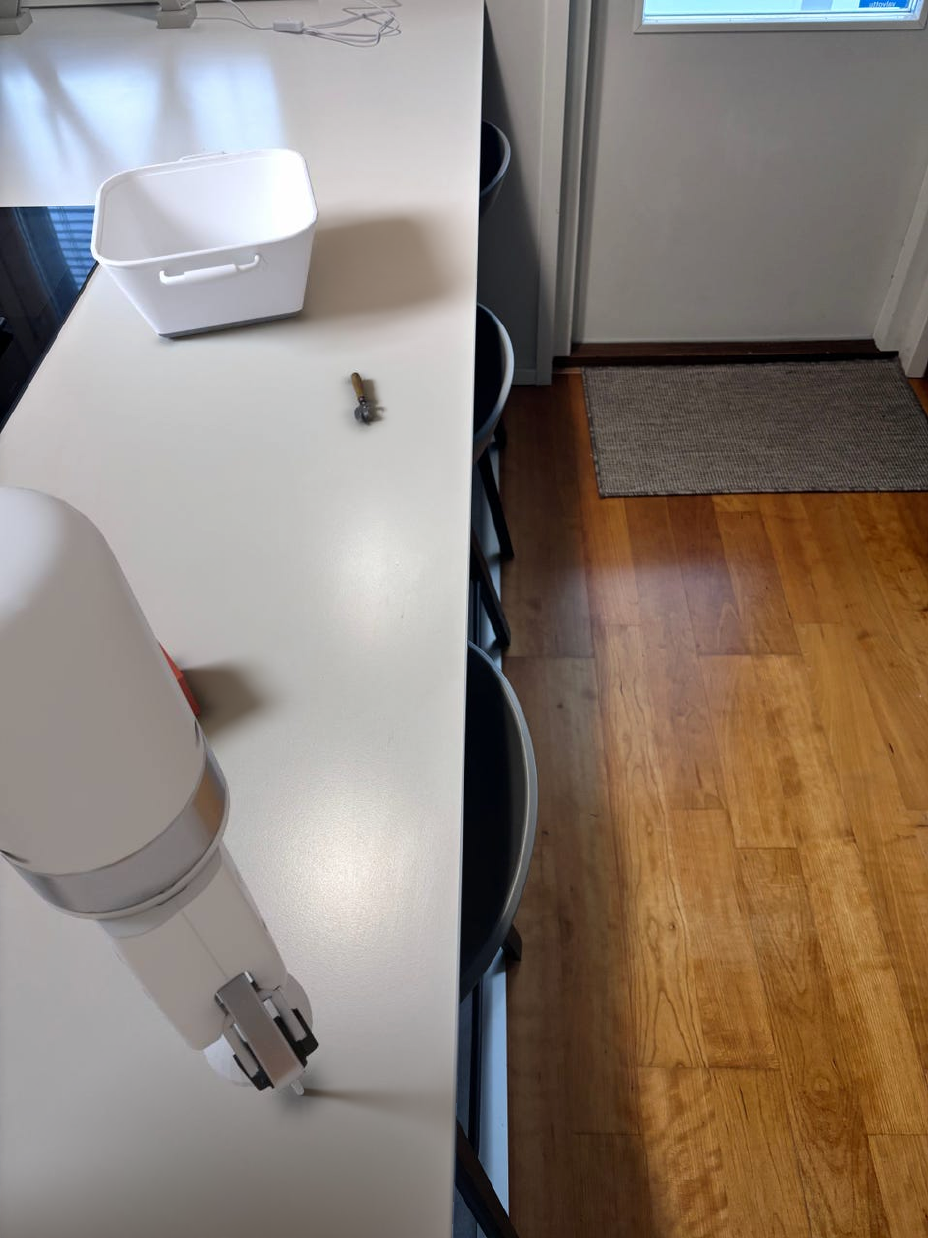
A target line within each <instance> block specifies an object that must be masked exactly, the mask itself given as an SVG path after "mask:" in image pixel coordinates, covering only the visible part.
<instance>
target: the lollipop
mask: <svg viewBox="0 0 928 1238" xmlns="http://www.w3.org/2000/svg"><path fill="white" fill-rule="evenodd" d="M244 973H245V975H246V976H247V978H248V980H249V981H250V982H252V981H253V980H252V978H251V977H250V975H249V974H248V972H244ZM278 989H279V991H280V992H281V994H282V996H283V997H284V999H285V1000H286V1002H287V1004H288V1005H289V1007H290V1008H291V1009H296V1008H297V1009H298V1010H299V1012H300V1013H301V1015H302V1016H303V1018H304V1020H305V1021H306V1023H307V1025H308V1027H309V1028H310V1030H311V1032H312V1033H313V1025H314V1019H313V1011H312V1010H313V1009H312V1006H311V1003H310V1002H311V1001H310V999H309V996H308V994H307V992H306V991H305V988H304V987H303V986H302V985H301V984H300V982H299V981H298V980H297V979H296V978H295V977H294V975H292V974H290V973H289V972H288V974H287V982H286V985H285V988H284V990H283V991H282V990H281V988H280V987H279V988H278ZM217 995H218V994H217ZM219 998H220V997H219ZM220 1000H221V999H220ZM221 1002H222V1001H221ZM222 1003H223V1002H222ZM263 1004H264V1005H265V1007H266V1009H267V1010H268V1012H269V1013H270V1015H271V1017H272V1018H273V1019H274V1018H275V1017H276V1016H278V1015H279V1013H278V1012H277V1010H276V1009H275V1007H274V1006H273V1004H272V1002H271V1001H270V999H267V1000H266V1001H265V1002H263ZM279 1017H280V1015H279ZM234 1025H235V1026H236V1028H237V1029H238V1031H239V1032H240V1030H239V1028H238V1027H237V1025H236V1023H235V1024H234ZM240 1034H241V1036H242V1037H243V1039H244V1040H245V1038H244V1036H243V1035H242V1033H241V1032H240ZM245 1042H246V1040H245ZM202 1052H203V1053H204V1056H205V1058H206V1060H207V1062H208V1065H209V1066H210V1067H211V1069H212V1070H213V1071H214V1073H215V1074H217V1075H218V1076H219V1077H220V1078H221V1079H222V1080H224V1081H226V1082H228V1083H230V1084H232V1085H235V1086H240V1087H243V1088H245V1087H246V1088H247V1087H249V1088H250V1087H255V1085H254V1084H253V1083H252V1082H251V1081H250V1079H249V1078H248V1077H247V1076H246V1075H245V1073H244V1072H243V1071H242V1070H241V1069H240V1067H239V1066H238V1065H237V1063H236V1061H235V1060H234V1058H233V1055H234V1054H235V1052H234V1051H233V1049H232V1048H231V1046H230V1045H229V1043H228V1041H227V1040H226V1038H225V1037H224V1035H223V1034H222V1036H221V1038H220V1039H219V1040H218V1041H216V1042H215V1043H213V1044H212V1045H210V1046H209V1047H207V1048H205V1049H204V1050H202ZM290 1085H291V1087H292V1088H293V1089H294V1091H295V1093H296V1094H297V1095H298V1096H302V1095H304V1093H305V1089H304V1088H303V1087H304V1086H303V1085H302V1084H301V1082H300V1081H299V1078H297V1079H296V1080H295V1081H294V1082H292V1083H291V1084H290ZM255 1088H256V1087H255Z"/></svg>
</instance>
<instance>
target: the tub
mask: <svg viewBox="0 0 928 1238" xmlns="http://www.w3.org/2000/svg"><path fill="white" fill-rule="evenodd" d="M319 215H320V213H319V209H318V205H317V201H316V196H315V192H314V188H313V184H312V179H311V176H310V172H309V168H308V163H307V160H306V158H305V157H304V156H303V154H301V152H298V151H295V150H294V149H291V148H282V147H265V148H255V149H248V150H242V151H234V152H225V151H224V150H221V151H220V150H219V151H209V152H202V153H196V154H191V155H185V156H181V157H180V159H178V160H176V161H175V160H174V161H170V162H169V161H168V162H164V163H156V164H150V165H144V166H139V167H135V168H130V169H126V170H123V171H120V172H118V173H116V174H113V175H111V176H109V177H108V178H107V179H106V180H104V181H102V183H101V184H100V185H99V187H98V189H97V191H96V195H95V206H94V214H93V223H92V233H91V240H90V241H91V242H90V251H91V255H92V257H93V259H94V260H95V261H97V262H98V263H99V265H100V266H101V267H102V268H103V269H104V270H105V272H106V273H107V274H108V275H109V276H110V277H111V279H112V280H113V281H114V283H115V284H116V285H117V286H118V287H119V289H120V290H121V291H122V293H123V294H124V295H125V296H126V297H127V299H128V300H129V301H130V302H131V303H132V305H133V306H134V307H135V309H137V311H138V313H140V314H141V316H142V317H143V318H144V319H145V320H146V321H147V323H148V324H149V326H151V328H152V329H153V330H154V332H155V333H156V334H158V336H160V337H163V338H165V339H171V338H178V337H183V336H189V335H190V336H191V335H196V334H200V333H201V334H202V333H208V332H212V331H219V330H226V329H232V328H236V327H238V328H239V327H243V326H247V325H248V326H249V325H254V324H260V323H261V324H262V323H266V322H271V321H277V320H284V319H289V318H294V317H297V316H299V315H300V314H301V312H302V311H303V308H304V302H305V301H304V300H305V296H306V295H305V294H306V288H307V282H308V277H309V276H308V275H309V269H310V264H311V258H312V250H313V244H314V238H315V231H316V227H317V223H318V221H319Z"/></svg>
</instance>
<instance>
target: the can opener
mask: <svg viewBox="0 0 928 1238" xmlns="http://www.w3.org/2000/svg"><path fill="white" fill-rule="evenodd" d="M350 379H351V385H352V387H353V389H354V392H355V394H356V398H357V402H358V404H359V405H358V406H357V407H356V408H355V409H354V410H353V411H354V412H353V414H354V418H355V419H356V421H358V422H359V423H362V424H364V420H363V417H362V413H363V416H364V419H365V421H370V420H371V416H370V412H369V410H368V407H371V410H372V409H374V408H375V404H374V403H373V402H367V401H368V399H367V395H366V393H365V387H364V383H363V380H362V378H361V375H360V374H359V372H356V371H355V372H352V373H351V375H350Z"/></svg>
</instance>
